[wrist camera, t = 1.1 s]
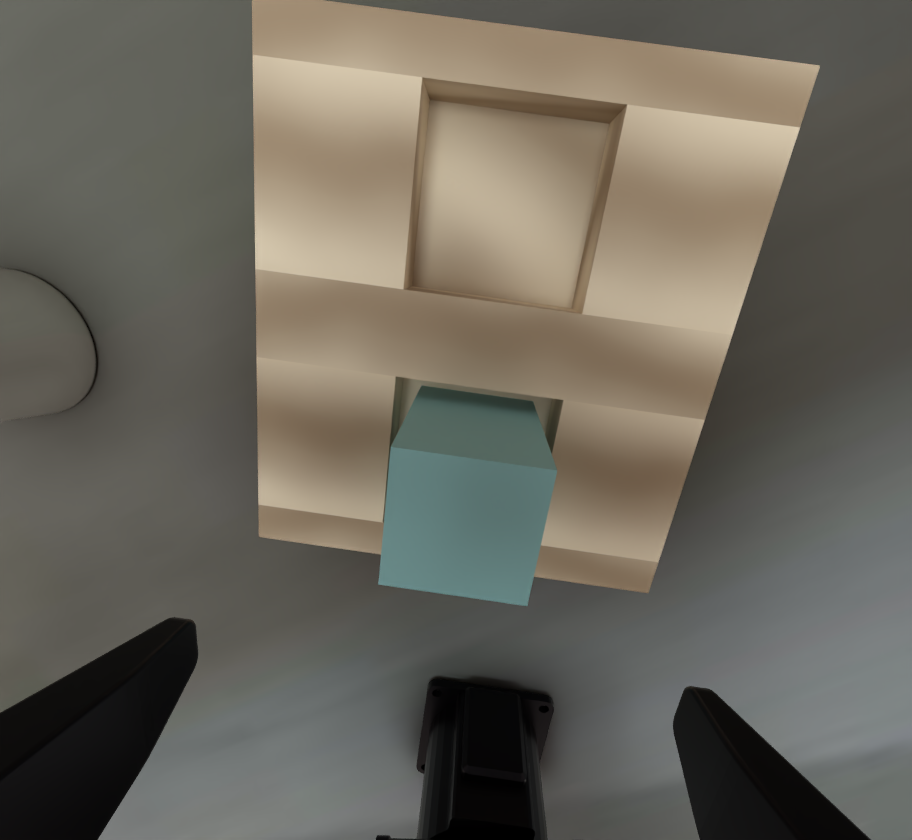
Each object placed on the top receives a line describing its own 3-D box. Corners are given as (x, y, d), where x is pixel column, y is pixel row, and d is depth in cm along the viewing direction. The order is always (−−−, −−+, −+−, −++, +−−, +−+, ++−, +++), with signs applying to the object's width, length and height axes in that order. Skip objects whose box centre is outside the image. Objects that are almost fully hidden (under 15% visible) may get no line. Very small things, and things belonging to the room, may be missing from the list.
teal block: (513, 500, 20) (527, 606, 14) (410, 485, 20) (378, 584, 14) (532, 400, 19) (557, 470, 12) (421, 385, 19) (390, 446, 12)
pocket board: (630, 556, 21) (648, 593, 19) (283, 506, 21) (259, 536, 19) (767, 95, 15) (820, 65, 13) (287, 32, 15) (252, -9, 13)
